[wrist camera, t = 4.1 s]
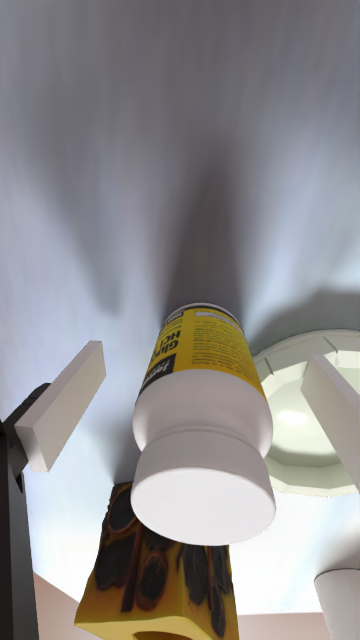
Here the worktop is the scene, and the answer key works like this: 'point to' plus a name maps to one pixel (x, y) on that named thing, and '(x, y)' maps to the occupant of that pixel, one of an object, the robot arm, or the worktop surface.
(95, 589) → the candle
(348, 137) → the worktop surface
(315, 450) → the sage dish
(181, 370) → the pill bottle
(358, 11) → the worktop surface
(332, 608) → the mug
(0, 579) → the robot arm
